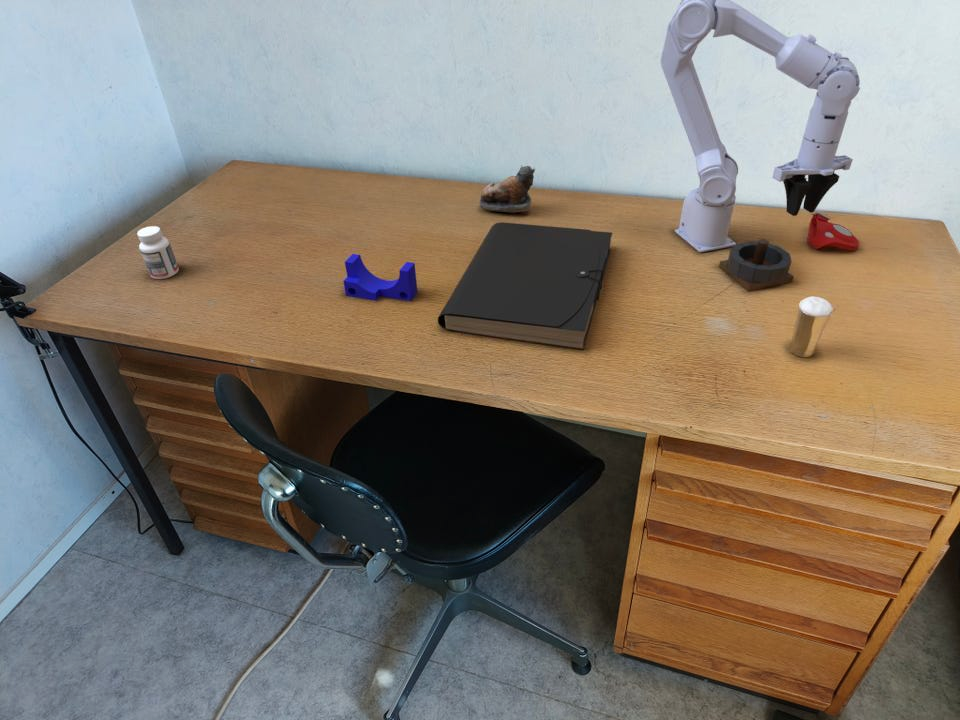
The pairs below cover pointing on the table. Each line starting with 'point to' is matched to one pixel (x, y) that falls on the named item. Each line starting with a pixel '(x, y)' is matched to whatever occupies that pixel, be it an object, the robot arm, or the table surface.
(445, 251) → the table surface
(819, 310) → the milkshake
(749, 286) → the brown peg stand
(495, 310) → the dark grey book
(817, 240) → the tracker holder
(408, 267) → the blue cradle bracket
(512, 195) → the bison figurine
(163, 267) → the pill bottle
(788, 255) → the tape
